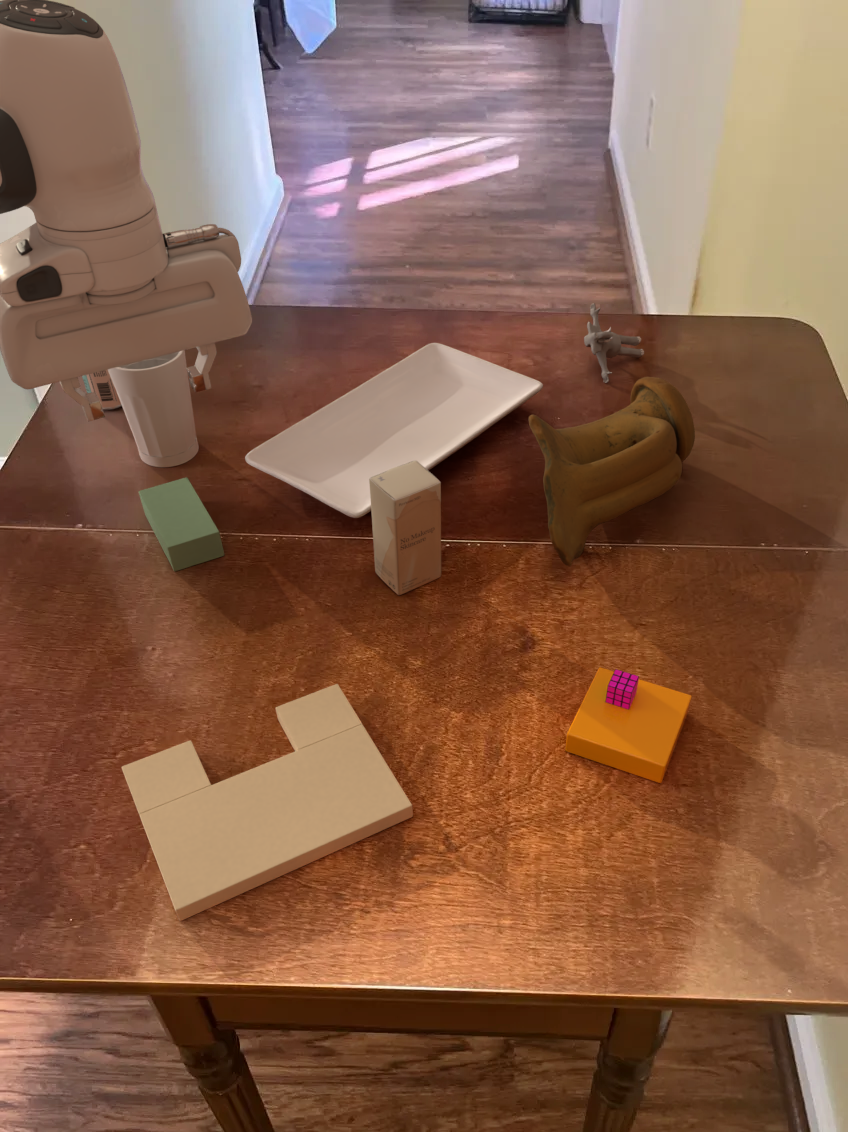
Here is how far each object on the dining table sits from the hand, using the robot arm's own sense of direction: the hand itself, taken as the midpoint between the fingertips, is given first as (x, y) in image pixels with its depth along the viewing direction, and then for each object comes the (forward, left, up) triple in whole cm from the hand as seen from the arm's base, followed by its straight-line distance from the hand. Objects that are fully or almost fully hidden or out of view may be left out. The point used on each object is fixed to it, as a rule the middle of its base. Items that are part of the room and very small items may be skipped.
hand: (149, 402), depth 86 cm
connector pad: (0, +1, -15) cm, 15 cm away
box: (+17, -15, -16) cm, 28 cm away
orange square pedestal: (+24, -41, -16) cm, 50 cm away
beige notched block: (-4, -33, -15) cm, 37 cm away
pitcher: (+39, -15, -16) cm, 45 cm away
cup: (+3, +16, -16) cm, 22 cm away
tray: (+26, +5, -16) cm, 31 cm away
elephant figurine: (+56, +9, -16) cm, 59 cm away
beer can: (0, +29, -16) cm, 32 cm away
